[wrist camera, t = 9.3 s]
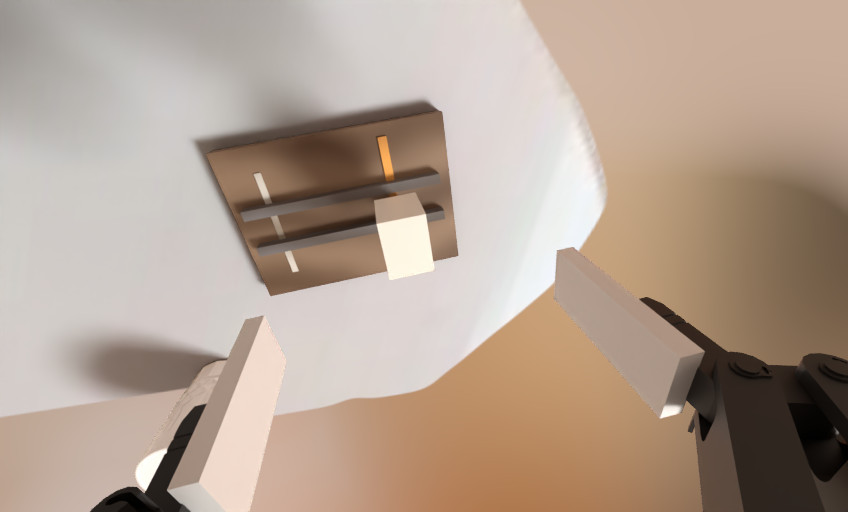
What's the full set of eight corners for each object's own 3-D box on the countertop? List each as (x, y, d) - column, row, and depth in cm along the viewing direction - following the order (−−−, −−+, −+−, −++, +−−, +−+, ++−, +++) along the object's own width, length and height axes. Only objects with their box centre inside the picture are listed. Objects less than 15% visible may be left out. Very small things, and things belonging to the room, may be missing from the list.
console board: (213, 150, 26) (199, 156, 24) (438, 110, 27) (444, 112, 25) (274, 287, 32) (267, 302, 30) (454, 249, 33) (461, 260, 31)
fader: (372, 185, 27) (376, 224, 20) (408, 178, 27) (426, 213, 20) (382, 229, 29) (389, 279, 22) (416, 222, 29) (434, 270, 22)
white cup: (199, 409, 38) (150, 508, 29) (182, 357, 34) (119, 452, 25) (273, 403, 39) (248, 496, 30) (264, 352, 35) (232, 441, 27)
